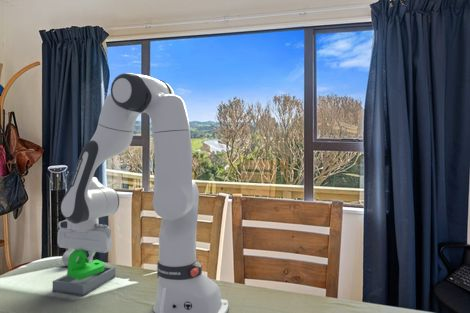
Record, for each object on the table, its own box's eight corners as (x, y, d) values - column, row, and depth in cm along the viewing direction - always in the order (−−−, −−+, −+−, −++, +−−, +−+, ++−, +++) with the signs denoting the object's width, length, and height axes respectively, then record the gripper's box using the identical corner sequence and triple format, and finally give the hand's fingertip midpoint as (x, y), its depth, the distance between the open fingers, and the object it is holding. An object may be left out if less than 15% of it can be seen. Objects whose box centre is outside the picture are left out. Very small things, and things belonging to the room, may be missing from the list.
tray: (115, 276, 126) (115, 267, 126) (83, 296, 110) (82, 285, 110) (88, 273, 130) (87, 264, 130) (52, 291, 114) (52, 281, 113)
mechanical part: (79, 280, 112) (81, 256, 112) (67, 275, 115) (69, 251, 114) (107, 269, 123) (110, 247, 122) (96, 264, 126) (98, 243, 125)
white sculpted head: (82, 263, 140) (82, 246, 140) (71, 269, 134) (71, 251, 133) (69, 262, 141) (69, 245, 141) (57, 268, 135) (57, 250, 134)
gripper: (116, 223, 119) (116, 262, 120) (67, 218, 125) (67, 256, 125) (104, 227, 113) (104, 268, 114) (54, 222, 119) (54, 261, 119)
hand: (84, 262), depth 120 cm, fingers closed on mechanical part, 2 cm apart
